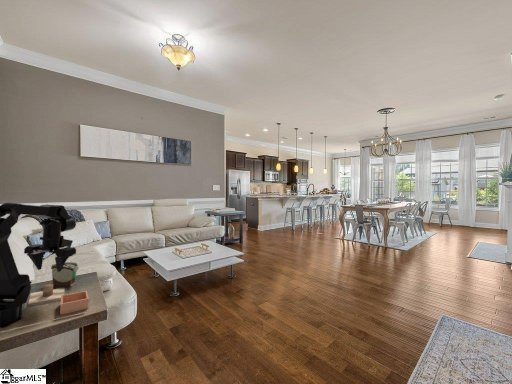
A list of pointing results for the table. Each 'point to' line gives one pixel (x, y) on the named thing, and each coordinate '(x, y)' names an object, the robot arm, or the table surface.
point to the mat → (44, 303)
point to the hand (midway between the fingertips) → (49, 270)
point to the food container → (64, 274)
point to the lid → (46, 295)
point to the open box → (74, 302)
